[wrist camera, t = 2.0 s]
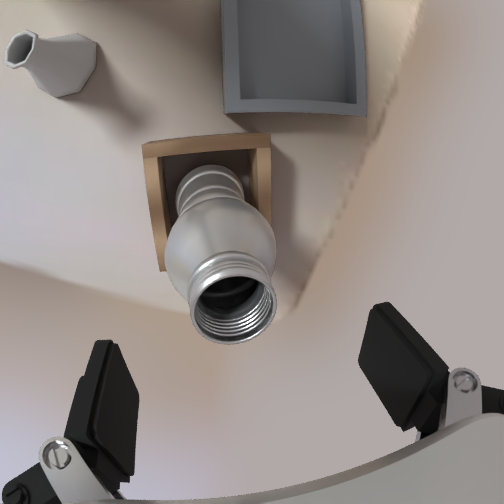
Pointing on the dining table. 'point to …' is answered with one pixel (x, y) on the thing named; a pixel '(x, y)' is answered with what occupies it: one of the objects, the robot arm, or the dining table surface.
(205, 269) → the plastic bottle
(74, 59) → the flask
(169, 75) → the dining table surface
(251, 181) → the holder
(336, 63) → the parts tray
